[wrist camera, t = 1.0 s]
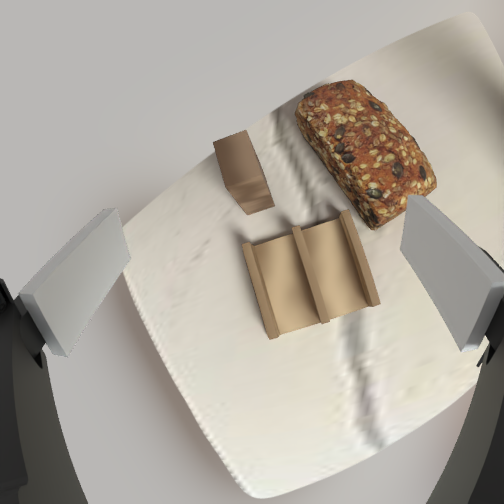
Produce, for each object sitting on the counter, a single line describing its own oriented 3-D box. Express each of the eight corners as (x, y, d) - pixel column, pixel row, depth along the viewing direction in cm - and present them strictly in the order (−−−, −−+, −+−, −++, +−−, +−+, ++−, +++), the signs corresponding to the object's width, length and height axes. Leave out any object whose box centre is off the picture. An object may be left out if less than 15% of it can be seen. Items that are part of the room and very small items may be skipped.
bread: (296, 134, 43) (290, 94, 33) (352, 105, 42) (357, 63, 32) (368, 238, 39) (385, 219, 29) (425, 200, 38) (452, 174, 28)
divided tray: (349, 216, 39) (353, 207, 35) (378, 302, 37) (385, 302, 33) (244, 251, 41) (236, 245, 38) (269, 337, 39) (264, 341, 35)
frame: (262, 168, 43) (246, 129, 32) (274, 206, 42) (261, 174, 31) (235, 178, 43) (211, 142, 33) (246, 215, 42) (224, 187, 32)
